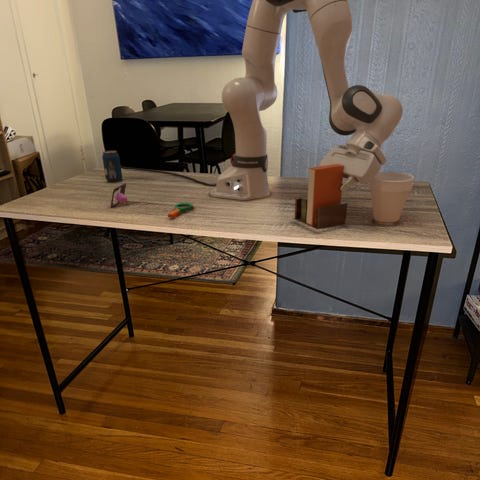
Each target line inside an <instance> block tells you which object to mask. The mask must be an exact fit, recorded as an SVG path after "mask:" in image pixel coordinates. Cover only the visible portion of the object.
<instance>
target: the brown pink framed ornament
mask: <svg viewBox="0 0 480 480" xmlns="http://www.w3.org/2000/svg"><path fill="white" fill-rule="evenodd" d="M126 187H127V183H123V184H121V185H119V186H117V187H115V188H113V189H112V190H111V192H112V195H111V201H110V208H114V207H115V206H117V205H119V204H126V203H127V204H128V205H130V202H129V201H128V198H127V196H126V195H125V193H126ZM119 190H120V191H119ZM118 191H119V192H118ZM116 192H117V193H116ZM115 193H116V194H115ZM114 199H115V200H116V201H117V202H116V203H114Z"/></svg>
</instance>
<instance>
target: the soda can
mask: <svg viewBox="0 0 480 480" xmlns="http://www.w3.org/2000/svg"><path fill="white" fill-rule="evenodd" d="M101 158H102V164H103V170H104V176H105V180H106V181H107V182H108V183H114V184H115V183H120V182H122V180H123V172H122V168H121V166H122V165H121V160H120V159H121V158H120V155H119V153H118V151H117V150H105V151H103V152H102V157H101Z"/></svg>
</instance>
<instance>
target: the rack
mask: <svg viewBox="0 0 480 480" xmlns="http://www.w3.org/2000/svg"><path fill="white" fill-rule="evenodd" d="M307 202H308V196H303V197H298V198H295V199H294V218H293V220H296V221H298V222H299V223H302V224H304V225H307V226H309V227H311V228H313V229H316V230H319V229H324V228H329V227H333V226H339V225H343V224H347V210H348V202H347V201H346V202H345V201H344V202H341V203H339V204H334V205H329V206H324V207H318V214H315V226H311V225H309V224H307V223H306V221H307Z"/></svg>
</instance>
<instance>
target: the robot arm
mask: <svg viewBox="0 0 480 480" xmlns="http://www.w3.org/2000/svg"><path fill="white" fill-rule="evenodd" d="M291 11H292V12H293V13H294V14H297V13H303V12H306V13H307V16H308V21H309V24H310V28H311V31H312V34H313V38H314V41H315V44H316V48H317V52H318V55H319V59H320V63H321V68H322V73H323V77H324V81H325V82H324V83H325V86H326V90H327V95H328V100H329V114H328V115H329V116H328V122H329V126H330V128H331V130H332V131H333V132H335V134H337V135H339V136H347V137H348V136H350V138H349V139H348V141H346V143H345V145H343V144H339V145H338V146H335V147H333V148H332V149H330V151H329V152H327V153H326V154H325V156H324V157H323V158H322V159H321V161H320V162H319V165H318V167H319V166H326V165H333V164H340V165H344V170H343V172H342V173H343V179H345V180H346V181H345V182H344V183H343V182H342V183H341V185H340V186H339V187H338V189H339V191H340V192H342V194H343V193H344V194H345V193H346V192H347V190H348V189H350V188H351V187H353V186H355V185H356V183H360V184H363V185H369V183H370V182H371V181H372V180H373V179H374V178H375V176H376V175H377V174H378V173H379V172H380V171H381V169H382V166H384V165H385V164H386V162H387V160H388V159H387V158H386V155H385V154H384V152H383V150H382V146H383V144H384V143H385V141H387V140H389V138H390V137H391V135H392V134H393V133H395V130H396V129H397V127H398V126H399V124H400V122H401V120H402V118H403V116H404V108H403V105H402V103H401V101H400V100H399V99H398V98H397V97H396V96H394V95H392V94H381V93H378V92H375V91H373V90H370V89H369V88H368V87H367V86H365V85H361V84H355V85H352V86H350V85H349V80H348V75H347V71H346V56H347V51H348V47H349V44H350V40H351V37H352V34H353V19H352V18H353V17H352V13H351V7H350V4H349V1H348V0H252V1H251V5H250V9H249V12H248V16H247V21H246V27H245V31H244V37H243V38H244V39H243V43H242V49H241V56H242V57H243V59H244V64H245V75H244V76H243V77H236V78H233V79H232V80H231V81H229V82H226V83H225V84H224V86H223V88H222V91H221V102H222V105H223V107H224V108H225V110H226V111H227V112H228V114H229V116H230V119H231V122H232V125H233V131H234V141H235V142H234V143H235V153H234V154H233V155H232V156H231V157H230V158H229V163H230V166H228V168H227V169H225V170H224V171H223V172H222V173H221V174H220V175H219V176H218V177H217V179H216V183H213V184H212V183H207V182H204V181H201V180H197V179H195V178H193V177H190V176H187V175H183V174H180V173H176V172H170V171H163V170H157V169H147V168H138V167H131V166H130V167H129V166H124V165H123V166H122V165H121V169H126V170H127V169H128V170H134V171H135V170H136V171H143V172H145V171H146V172H151V173H152V172H153V173H161V174H168V175H173V176H177V177H181V178H185V179H188V180H191V181H193V182H196V183H198V184H201V185H205V186H208V187H215V188H213V189H212V190H210V197H213V198H221V199H231V200H236V201H238V200H239V201H250V200H255V199H262V198H266V197H269V196H270V195H271V194H272V193H271V189H270V186H269V180H268V170H269V157H268V156H269V155H268V154H267V130H266V128H265V127H264V126H263V122H262V118H261V114H260V112H262V111H265V110H267V109H269V108H270V107H272V106H273V105H274V104H275V102H276V101H277V98H278V87H277V84H276V81H275V79H276V78H275V68H276V67H275V66H276V58H277V53H278V49H279V48H278V47H279V43H280V38H281V34H282V29H283V25H284V24H283V23H284V20H285V18H286V15H287V14H288V13H290V12H291ZM349 86H350V87H349ZM351 135H352V136H351Z"/></svg>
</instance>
